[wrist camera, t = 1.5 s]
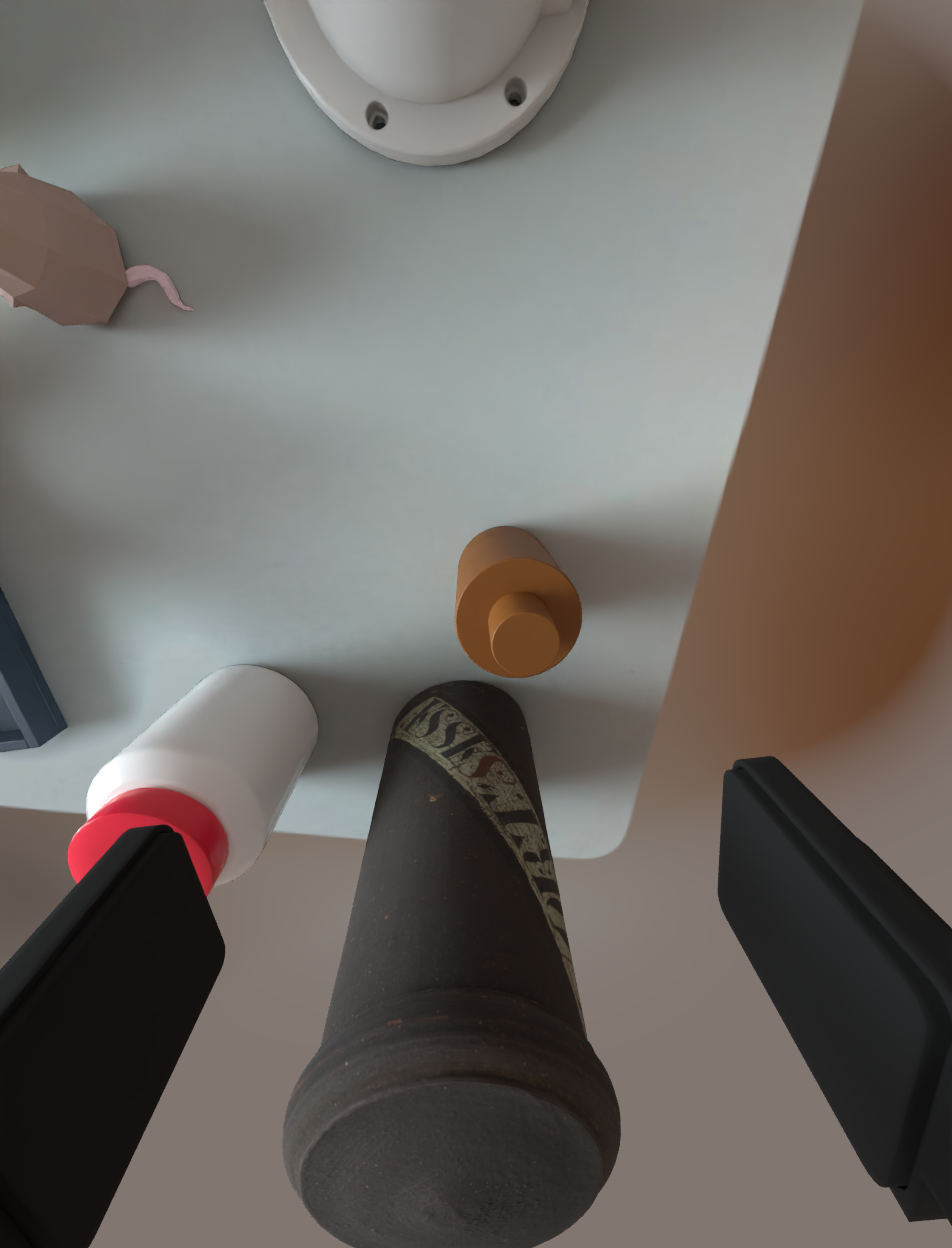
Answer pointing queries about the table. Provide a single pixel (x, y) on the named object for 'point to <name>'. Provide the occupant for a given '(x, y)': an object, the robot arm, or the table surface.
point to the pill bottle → (206, 773)
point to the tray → (23, 691)
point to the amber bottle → (514, 604)
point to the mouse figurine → (62, 254)
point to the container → (454, 1009)
